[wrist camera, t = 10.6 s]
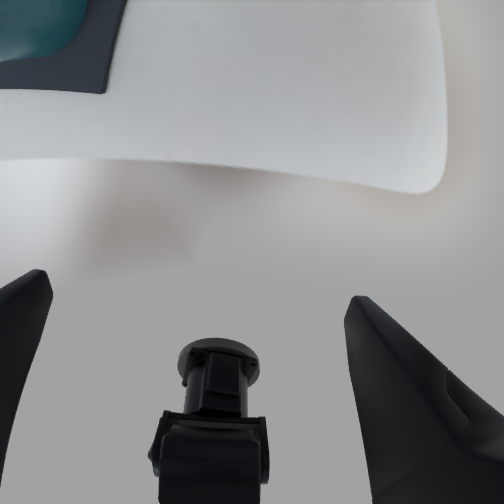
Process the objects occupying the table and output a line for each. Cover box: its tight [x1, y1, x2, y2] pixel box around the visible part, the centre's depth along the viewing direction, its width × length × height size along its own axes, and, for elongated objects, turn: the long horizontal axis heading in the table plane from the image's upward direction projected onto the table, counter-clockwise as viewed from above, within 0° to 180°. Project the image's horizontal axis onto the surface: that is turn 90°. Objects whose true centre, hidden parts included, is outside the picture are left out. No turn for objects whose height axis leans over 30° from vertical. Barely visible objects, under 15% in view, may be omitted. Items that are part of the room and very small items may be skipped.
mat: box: [0, 0, 126, 94], centre depth 12 cm, size 10×10×1 cm
